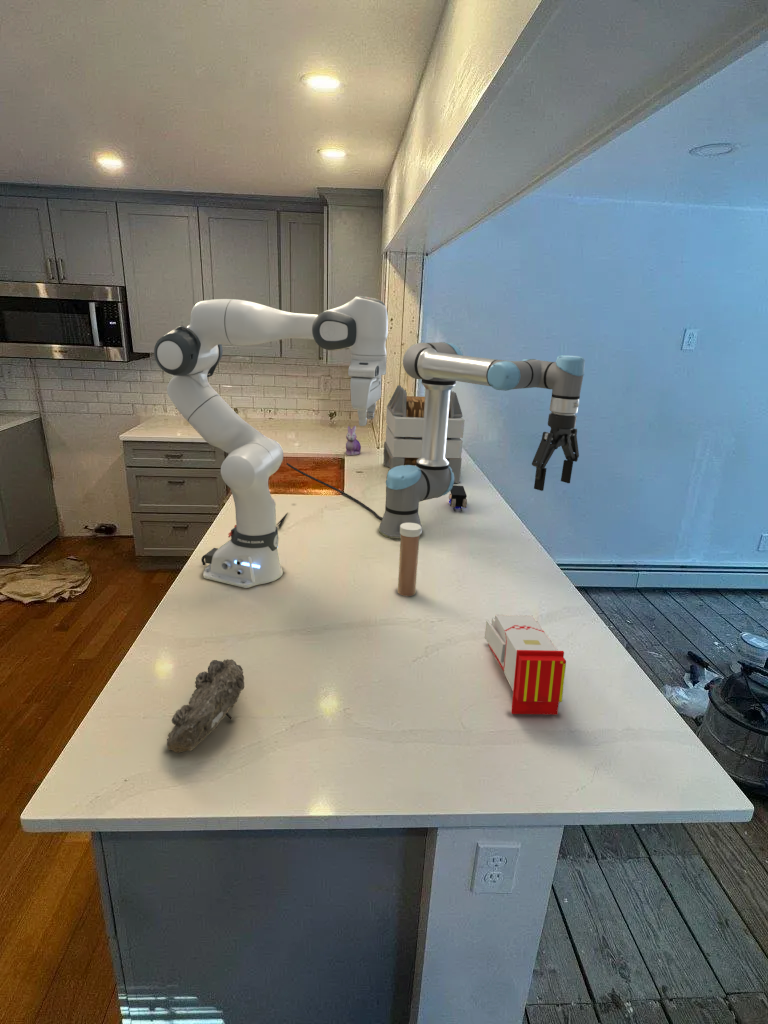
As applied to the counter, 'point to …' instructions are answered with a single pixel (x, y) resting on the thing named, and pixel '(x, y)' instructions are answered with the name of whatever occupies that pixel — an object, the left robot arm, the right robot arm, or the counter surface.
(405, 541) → the tan brown cylinder
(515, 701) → the toy
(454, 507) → the figurine character
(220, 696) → the fossil
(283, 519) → the feather
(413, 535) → the lid
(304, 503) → the counter surface
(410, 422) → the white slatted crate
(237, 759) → the counter surface
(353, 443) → the figurine
